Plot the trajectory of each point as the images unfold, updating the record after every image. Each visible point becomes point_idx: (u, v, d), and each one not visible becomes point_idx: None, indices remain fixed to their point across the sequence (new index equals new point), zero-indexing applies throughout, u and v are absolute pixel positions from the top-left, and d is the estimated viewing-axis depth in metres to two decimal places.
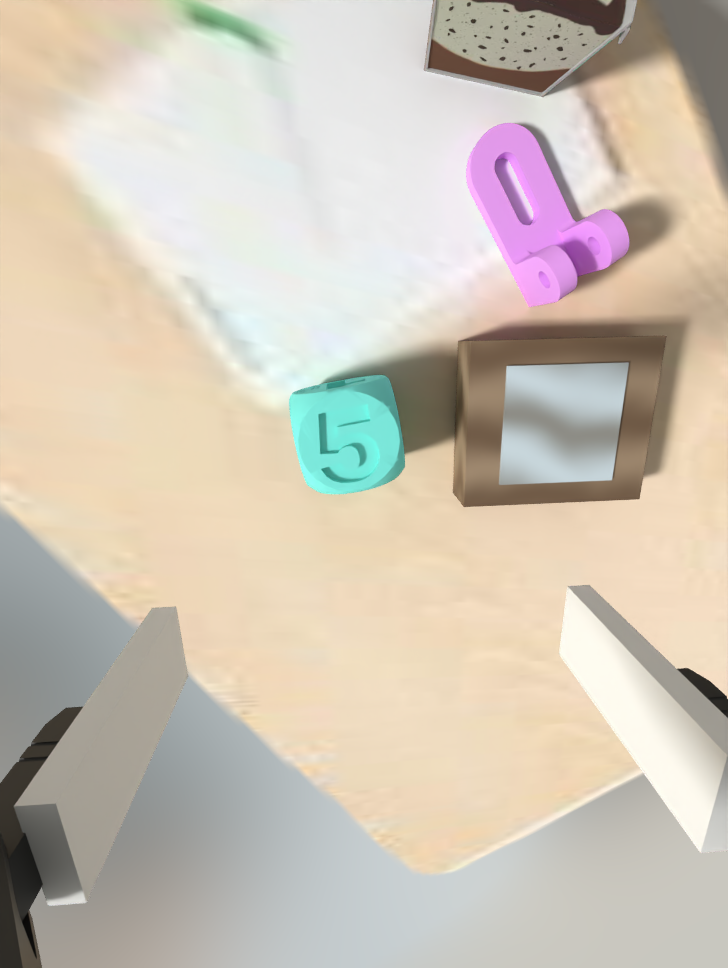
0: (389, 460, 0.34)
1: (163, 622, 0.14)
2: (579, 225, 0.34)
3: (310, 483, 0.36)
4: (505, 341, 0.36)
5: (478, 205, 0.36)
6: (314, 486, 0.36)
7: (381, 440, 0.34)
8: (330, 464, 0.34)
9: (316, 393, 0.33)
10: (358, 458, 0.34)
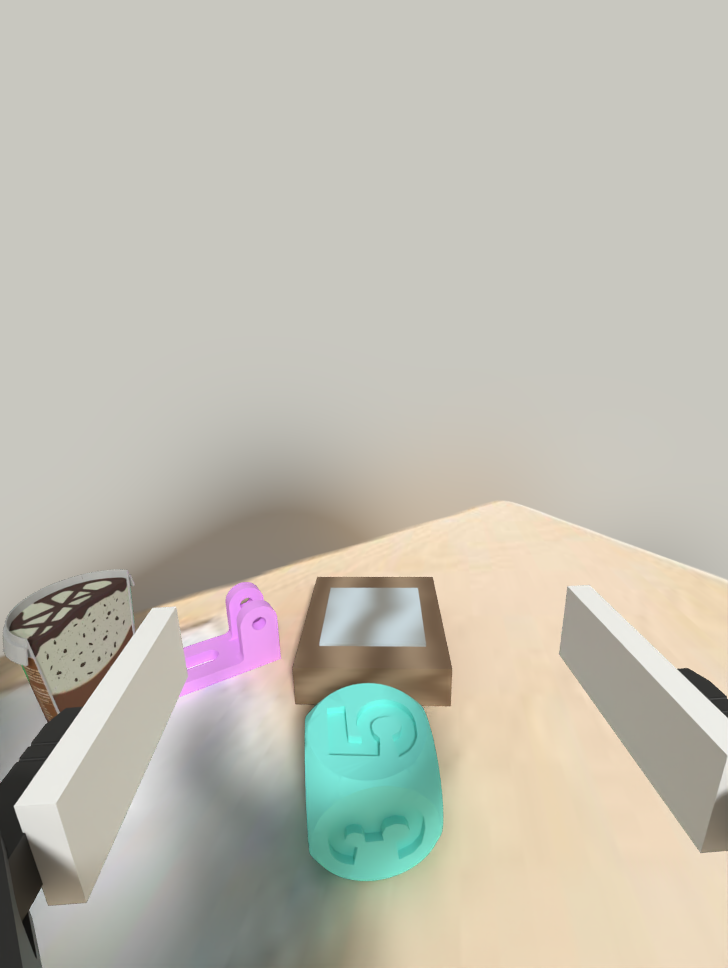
0: (390, 691, 0.32)
1: (163, 622, 0.14)
2: (230, 614, 0.48)
3: (424, 785, 0.26)
4: (299, 647, 0.43)
5: (188, 690, 0.43)
6: (428, 780, 0.26)
7: (367, 697, 0.31)
8: (393, 745, 0.27)
9: (305, 762, 0.27)
10: (386, 717, 0.29)
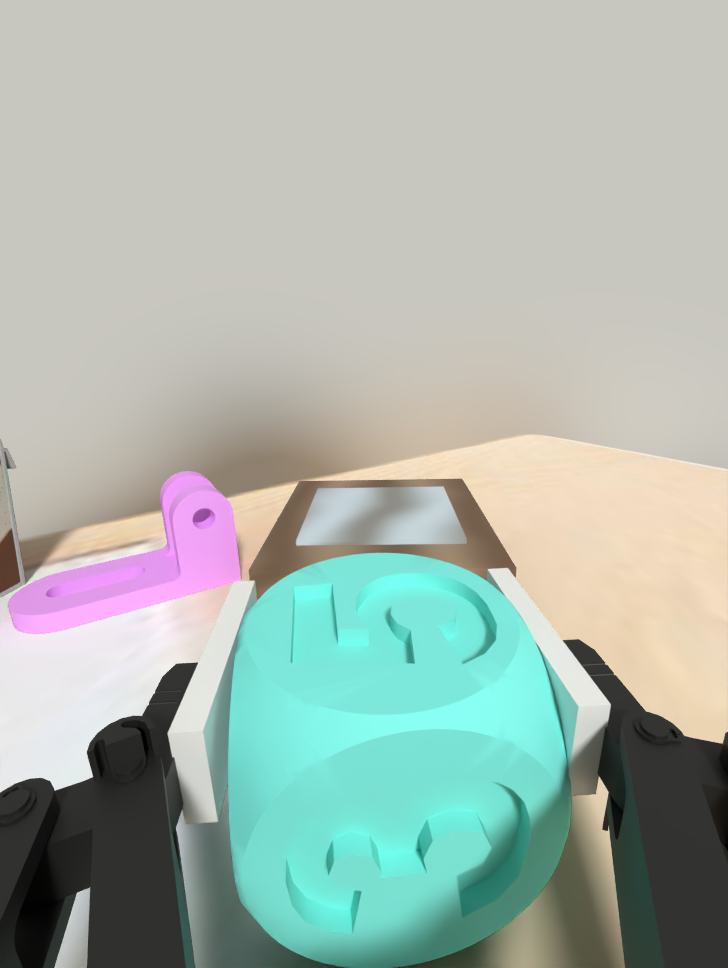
0: (423, 562, 0.16)
1: (247, 593, 0.15)
2: (165, 514, 0.32)
3: (532, 730, 0.10)
4: (263, 547, 0.27)
5: (87, 618, 0.27)
6: (539, 719, 0.10)
7: (378, 571, 0.15)
8: (444, 643, 0.11)
9: (234, 683, 0.11)
10: (422, 598, 0.14)
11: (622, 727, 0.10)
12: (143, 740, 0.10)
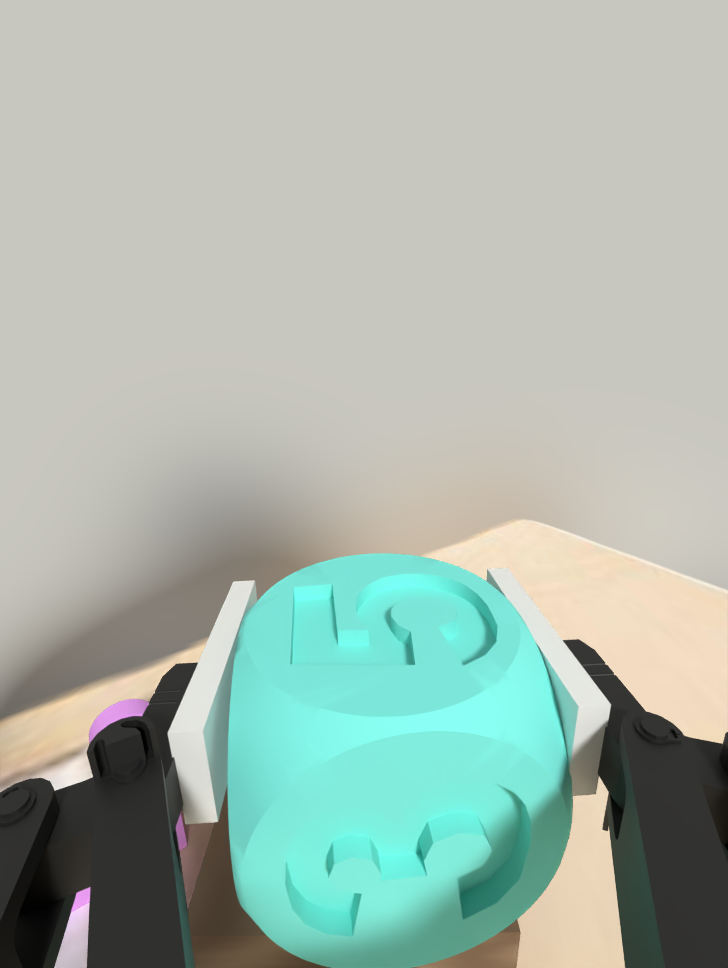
0: (423, 562, 0.16)
1: (247, 593, 0.15)
2: None
3: (533, 731, 0.10)
4: (205, 862, 0.21)
5: None
6: (540, 721, 0.10)
7: (379, 571, 0.15)
8: (445, 644, 0.11)
9: (233, 685, 0.11)
10: (422, 599, 0.13)
11: (622, 727, 0.10)
12: (143, 740, 0.10)
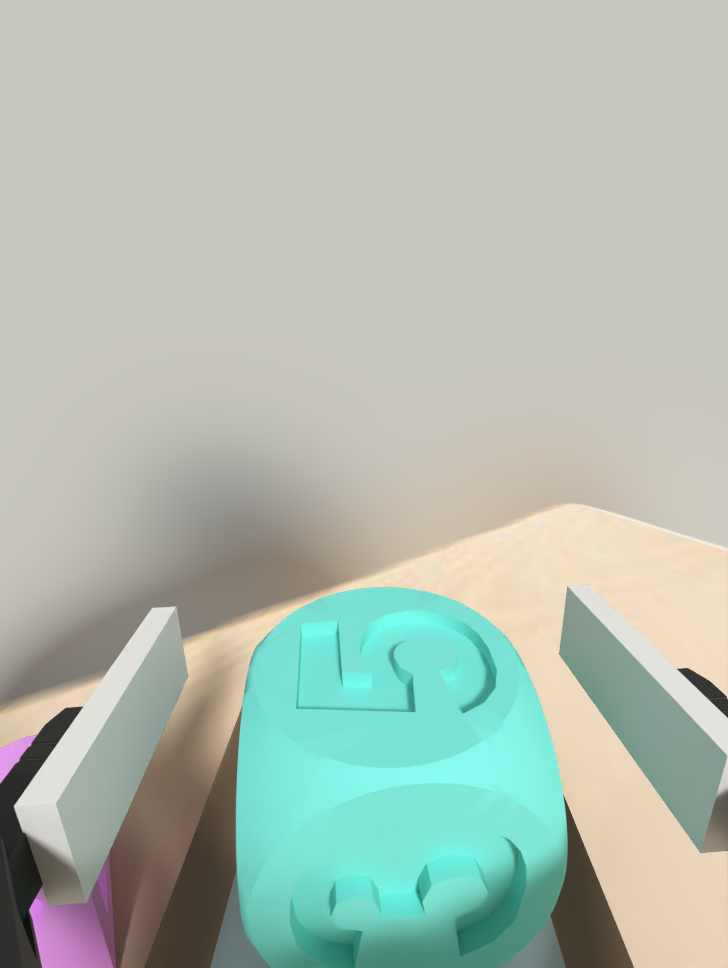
0: (427, 598, 0.16)
1: (163, 622, 0.14)
2: None
3: (528, 781, 0.10)
4: None
5: None
6: (536, 770, 0.11)
7: (383, 607, 0.16)
8: (445, 690, 0.12)
9: (242, 727, 0.12)
10: (425, 639, 0.14)
11: None
12: None
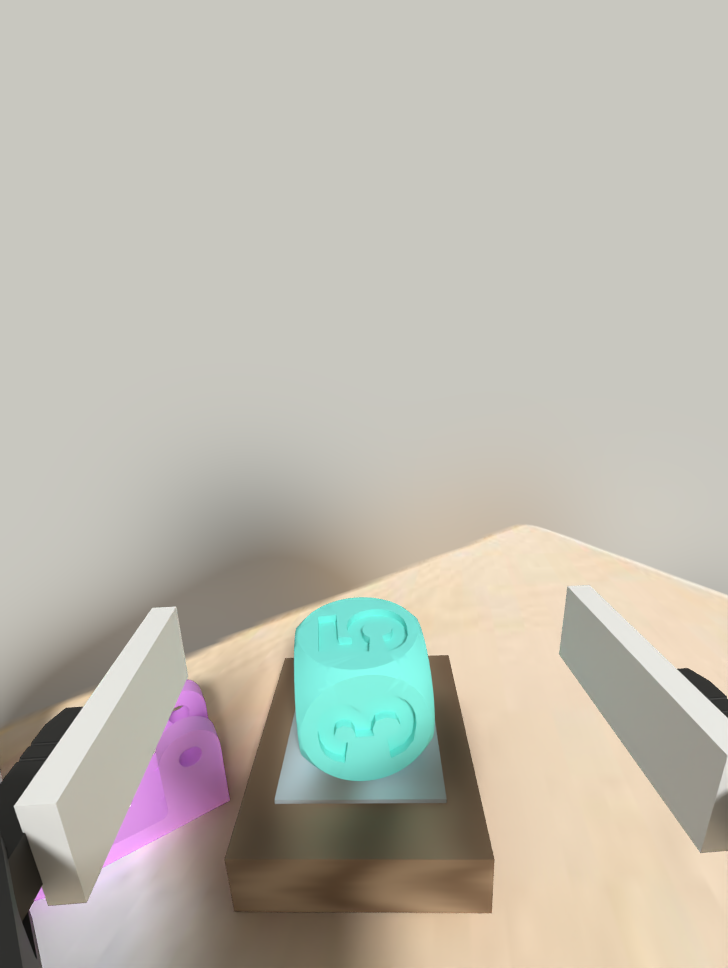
0: (382, 603, 0.31)
1: (163, 622, 0.14)
2: None
3: (414, 677, 0.26)
4: (241, 807, 0.26)
5: None
6: (418, 673, 0.26)
7: (359, 608, 0.31)
8: (383, 643, 0.27)
9: (295, 660, 0.27)
10: (377, 622, 0.29)
11: None
12: None
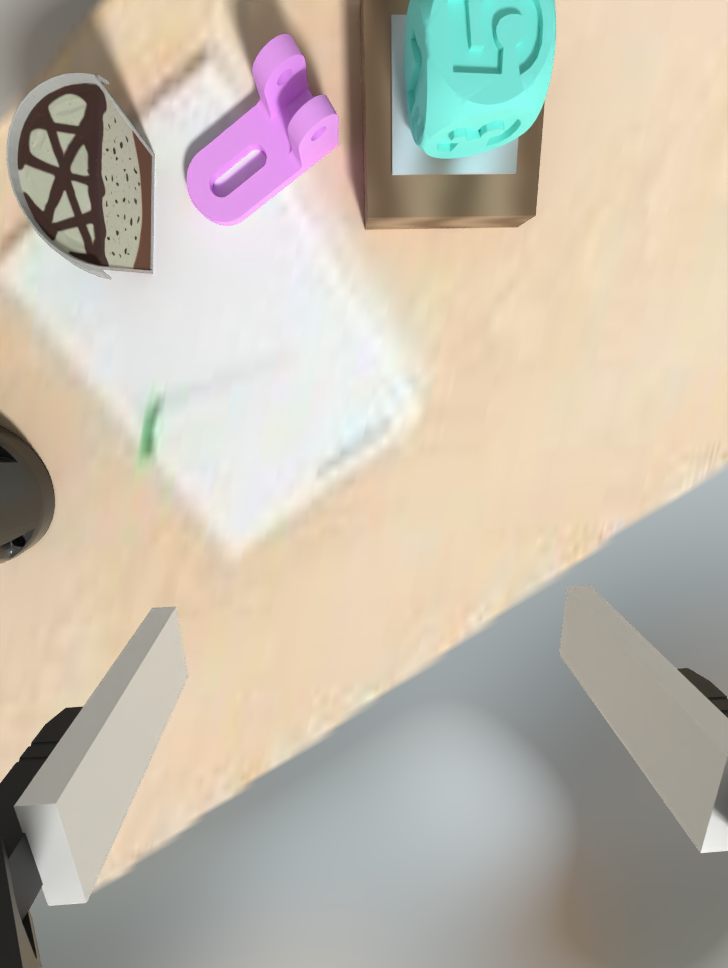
0: None
1: (163, 622, 0.14)
2: (266, 97, 0.34)
3: (534, 102, 0.29)
4: (368, 178, 0.36)
5: (253, 211, 0.40)
6: (538, 96, 0.29)
7: None
8: (516, 59, 0.28)
9: (428, 78, 0.28)
10: (513, 15, 0.27)
11: None
12: None
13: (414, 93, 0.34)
